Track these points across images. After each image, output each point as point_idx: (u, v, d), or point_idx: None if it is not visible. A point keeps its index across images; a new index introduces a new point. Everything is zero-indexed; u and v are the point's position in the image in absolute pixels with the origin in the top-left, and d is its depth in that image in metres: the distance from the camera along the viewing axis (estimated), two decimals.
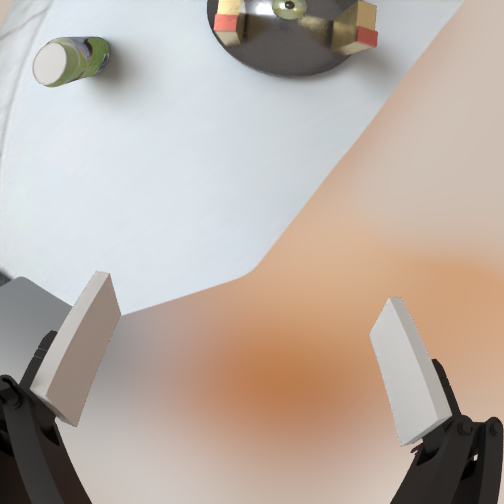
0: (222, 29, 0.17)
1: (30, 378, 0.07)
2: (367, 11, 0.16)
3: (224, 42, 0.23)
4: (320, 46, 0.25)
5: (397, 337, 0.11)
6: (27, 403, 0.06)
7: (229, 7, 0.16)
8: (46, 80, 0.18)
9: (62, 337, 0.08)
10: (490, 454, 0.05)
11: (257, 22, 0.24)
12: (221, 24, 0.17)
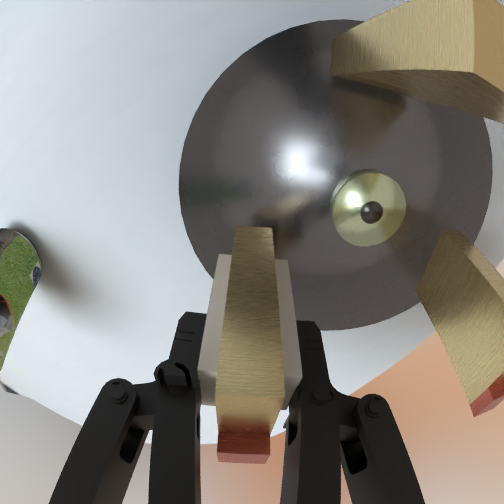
0: (237, 461, 0.08)
1: None
2: None
3: None
4: (402, 280, 0.16)
5: None
6: (194, 395, 0.07)
7: (247, 425, 0.08)
8: None
9: (215, 314, 0.10)
10: (379, 441, 0.06)
11: (296, 246, 0.15)
12: (234, 460, 0.08)
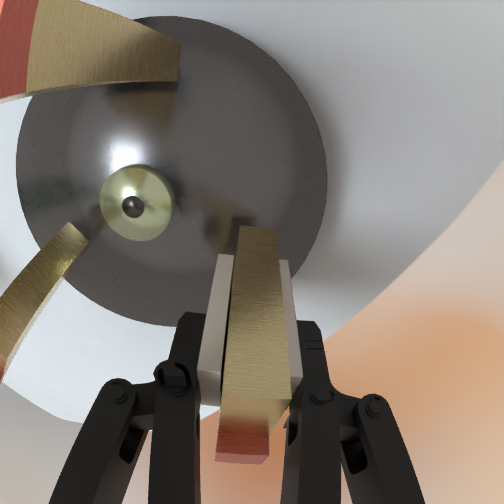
0: None
1: None
2: (253, 412, 0.07)
3: None
4: (212, 283, 0.16)
5: None
6: (194, 396, 0.07)
7: None
8: None
9: (214, 314, 0.10)
10: (379, 441, 0.06)
11: (92, 238, 0.15)
12: None
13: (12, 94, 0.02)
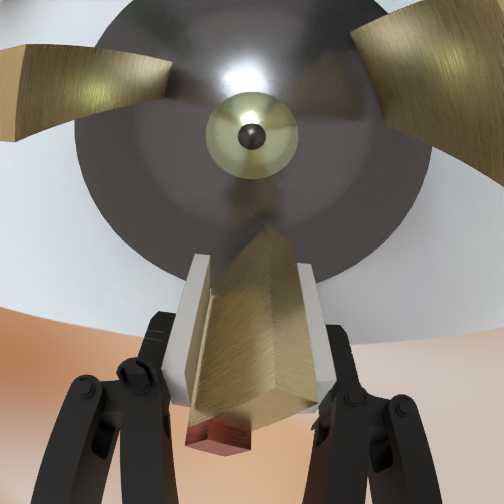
0: None
1: (148, 361, 0.09)
2: (274, 408, 0.07)
3: None
4: (205, 242, 0.15)
5: None
6: (157, 393, 0.07)
7: None
8: None
9: (184, 314, 0.10)
10: (406, 440, 0.06)
11: (166, 99, 0.11)
12: None
13: None
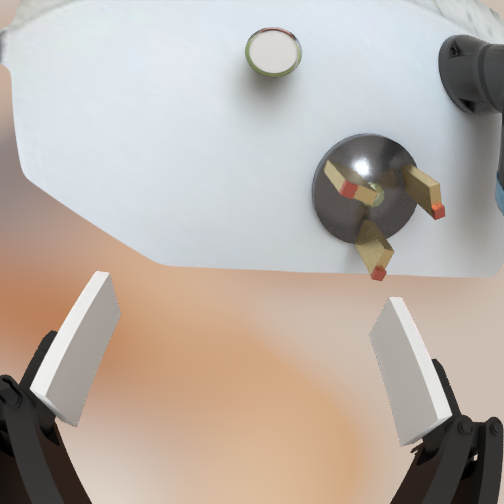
0: (344, 187, 0.30)
1: (30, 378, 0.07)
2: (386, 256, 0.36)
3: (332, 165, 0.36)
4: (350, 225, 0.44)
5: (397, 337, 0.11)
6: (27, 403, 0.06)
7: (359, 193, 0.31)
8: (254, 55, 0.23)
9: (62, 337, 0.08)
10: (490, 454, 0.05)
11: None
12: (349, 187, 0.30)
13: None
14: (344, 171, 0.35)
